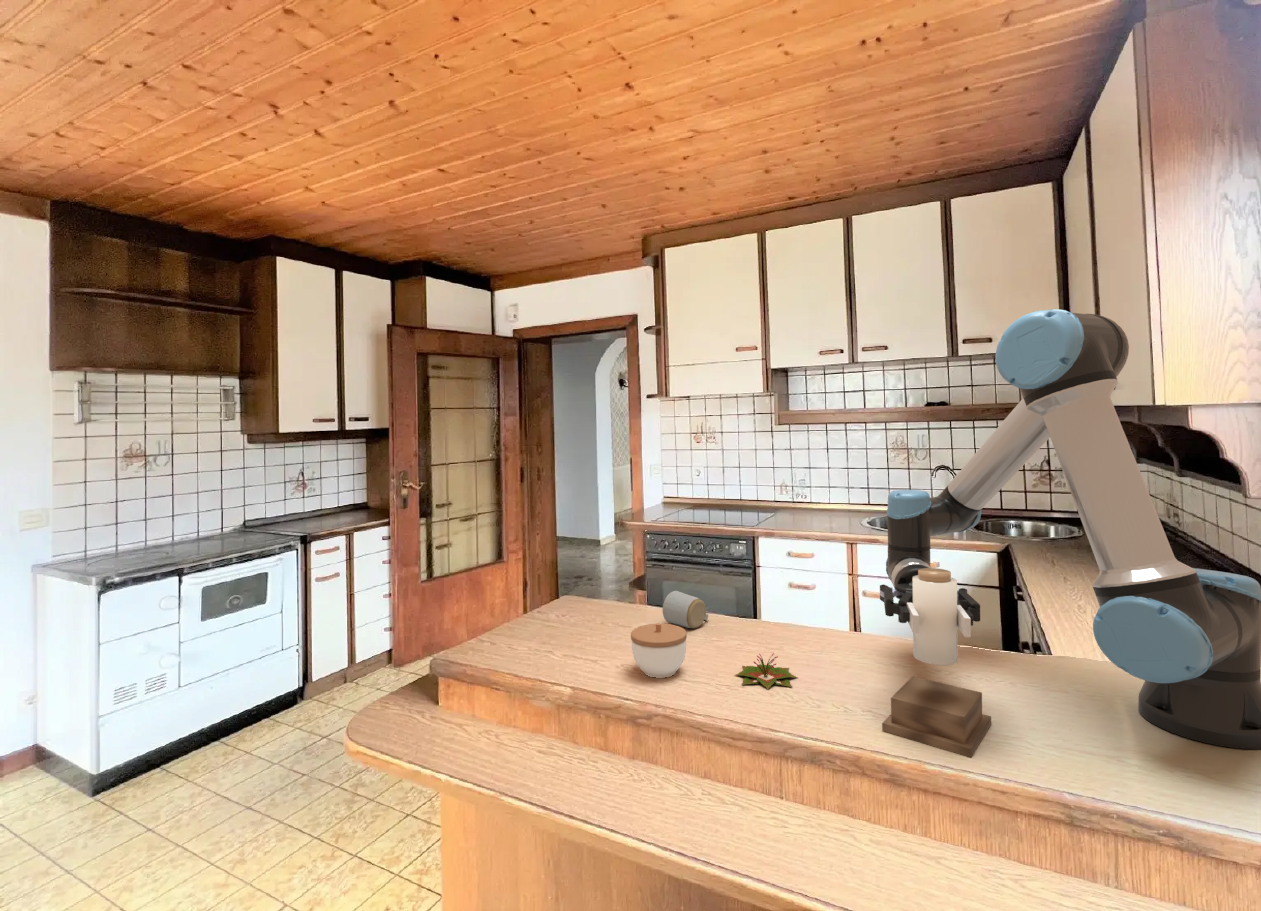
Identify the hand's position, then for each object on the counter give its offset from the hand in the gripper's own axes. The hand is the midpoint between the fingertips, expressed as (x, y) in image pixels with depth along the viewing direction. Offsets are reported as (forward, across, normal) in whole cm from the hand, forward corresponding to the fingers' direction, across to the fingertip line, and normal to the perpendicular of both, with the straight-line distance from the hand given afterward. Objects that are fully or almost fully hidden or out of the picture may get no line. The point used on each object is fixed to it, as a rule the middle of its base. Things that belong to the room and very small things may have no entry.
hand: (941, 626), depth 87 cm
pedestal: (-5, 0, -17) cm, 18 cm away
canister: (-5, 0, -7) cm, 8 cm away
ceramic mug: (-46, +47, -18) cm, 68 cm away
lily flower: (-19, +26, -18) cm, 37 cm away
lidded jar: (-17, +46, -18) cm, 52 cm away
